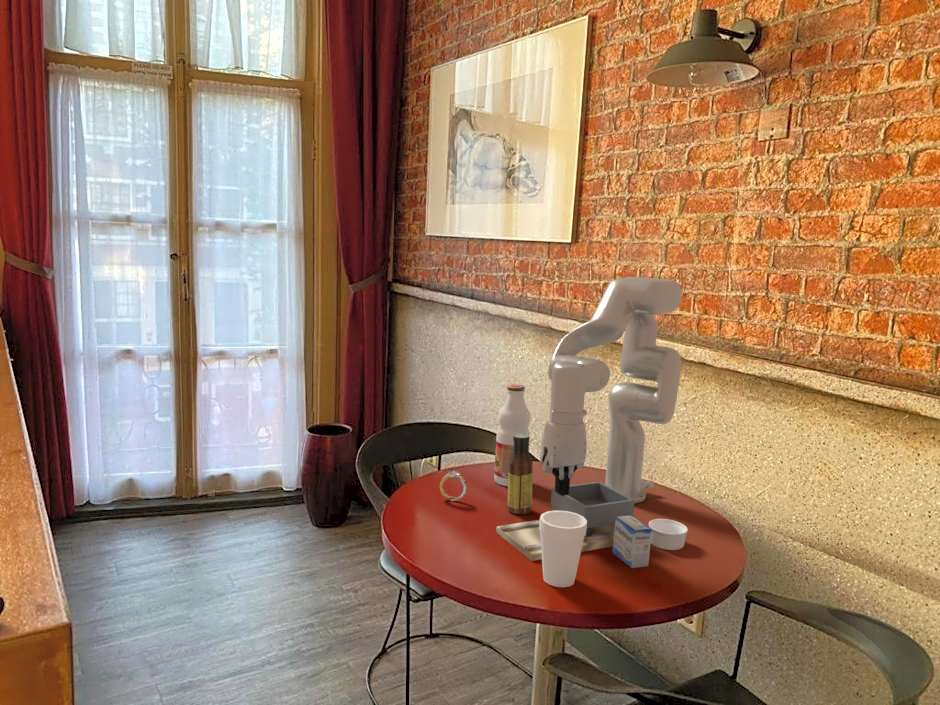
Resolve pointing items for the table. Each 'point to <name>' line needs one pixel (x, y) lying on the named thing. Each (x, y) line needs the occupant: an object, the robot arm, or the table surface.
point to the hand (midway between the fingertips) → (561, 493)
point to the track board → (529, 538)
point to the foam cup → (561, 546)
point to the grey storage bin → (594, 504)
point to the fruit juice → (510, 430)
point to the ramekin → (668, 534)
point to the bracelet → (447, 476)
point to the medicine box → (632, 541)
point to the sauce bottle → (520, 476)
